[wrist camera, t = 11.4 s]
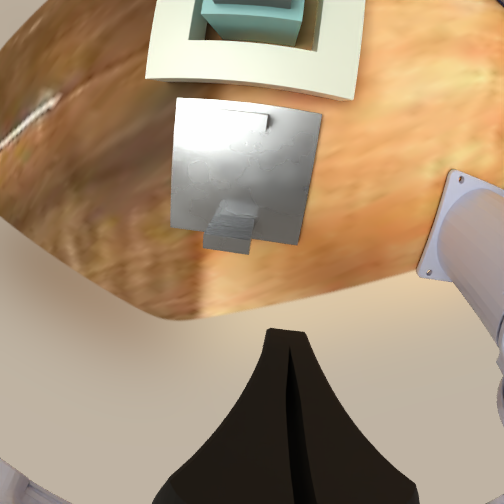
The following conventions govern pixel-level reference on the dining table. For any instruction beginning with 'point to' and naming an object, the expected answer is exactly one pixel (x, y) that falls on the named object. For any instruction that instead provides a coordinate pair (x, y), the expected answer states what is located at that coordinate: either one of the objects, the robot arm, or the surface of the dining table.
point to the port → (259, 52)
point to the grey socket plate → (241, 171)
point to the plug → (255, 19)
